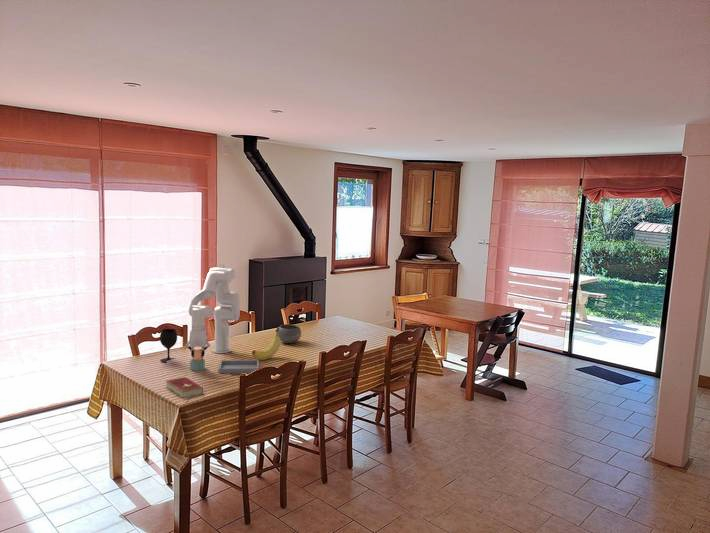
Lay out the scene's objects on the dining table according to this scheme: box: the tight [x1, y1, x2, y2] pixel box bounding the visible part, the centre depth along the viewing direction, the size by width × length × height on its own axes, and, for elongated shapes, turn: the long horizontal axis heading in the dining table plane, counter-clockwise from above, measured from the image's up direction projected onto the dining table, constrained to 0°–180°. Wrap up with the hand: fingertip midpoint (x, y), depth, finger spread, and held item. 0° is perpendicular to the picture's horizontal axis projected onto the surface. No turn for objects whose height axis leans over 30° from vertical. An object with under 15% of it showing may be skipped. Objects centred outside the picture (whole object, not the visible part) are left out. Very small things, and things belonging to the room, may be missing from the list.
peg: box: [193, 347, 202, 361], centre depth 328 cm, size 5×5×11 cm
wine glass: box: [159, 328, 178, 364], centre depth 343 cm, size 10×10×20 cm
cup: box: [189, 357, 206, 372], centre depth 328 cm, size 8×8×6 cm
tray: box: [218, 359, 260, 375], centre depth 333 cm, size 18×24×4 cm
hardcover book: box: [165, 376, 204, 398], centre depth 294 cm, size 12×21×4 cm, turn 42°
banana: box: [251, 327, 281, 361], centre depth 358 cm, size 23×6×20 cm, turn 138°
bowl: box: [278, 323, 302, 344], centre depth 402 cm, size 18×18×13 cm
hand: (197, 356), depth 328 cm, fingers closed on peg, 5 cm apart
